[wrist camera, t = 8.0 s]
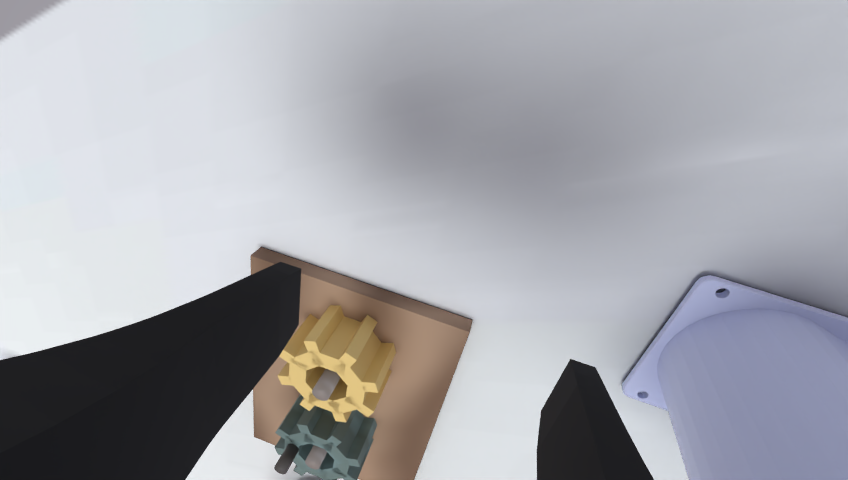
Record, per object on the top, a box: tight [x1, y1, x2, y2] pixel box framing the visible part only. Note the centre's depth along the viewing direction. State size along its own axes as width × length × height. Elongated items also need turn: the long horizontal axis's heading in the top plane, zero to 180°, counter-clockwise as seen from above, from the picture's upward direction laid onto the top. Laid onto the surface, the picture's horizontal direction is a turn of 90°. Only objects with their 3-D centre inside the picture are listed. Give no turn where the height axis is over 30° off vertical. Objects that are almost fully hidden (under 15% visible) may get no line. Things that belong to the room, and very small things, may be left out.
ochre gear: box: [278, 305, 396, 422], centre depth 23 cm, size 6×6×3 cm
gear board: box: [251, 247, 472, 480], centre depth 26 cm, size 13×18×6 cm
